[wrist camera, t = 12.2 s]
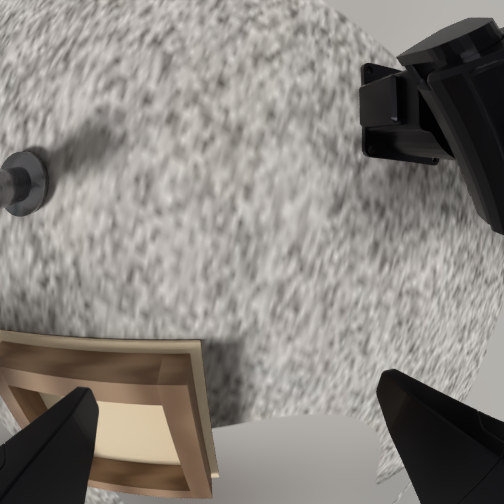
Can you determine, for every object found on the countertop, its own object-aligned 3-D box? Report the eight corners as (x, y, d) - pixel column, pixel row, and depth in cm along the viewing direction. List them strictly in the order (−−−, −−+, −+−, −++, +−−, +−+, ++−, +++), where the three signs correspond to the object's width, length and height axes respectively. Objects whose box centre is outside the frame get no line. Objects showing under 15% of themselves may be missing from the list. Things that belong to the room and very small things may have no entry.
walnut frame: (190, 353, 21) (187, 385, 18) (211, 473, 26) (212, 498, 23) (1, 340, 19) (-17, 362, 16) (67, 458, 24) (60, 479, 21)
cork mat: (200, 339, 21) (200, 342, 21) (219, 475, 27) (219, 477, 27) (-8, 328, 19) (-10, 330, 18) (63, 459, 25) (62, 461, 25)
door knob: (47, 146, 15) (-8, 148, 10) (51, 211, 17) (-1, 234, 11) (2, 157, 15) (-53, 164, 9) (7, 216, 16) (-45, 239, 11)
